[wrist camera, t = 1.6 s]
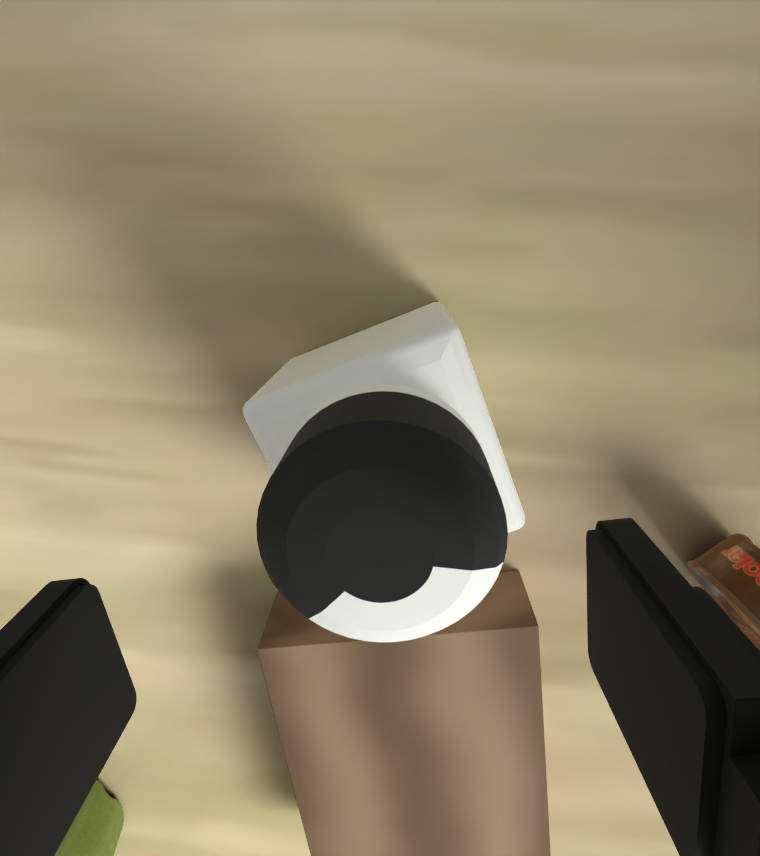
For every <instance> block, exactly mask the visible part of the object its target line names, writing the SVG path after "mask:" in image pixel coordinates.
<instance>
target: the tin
mask: <svg viewBox="0 0 760 856" xmlns="http://www.w3.org/2000/svg"><path fill="white" fill-rule="evenodd" d="M687 566H688V568H689V570H690V571H691V573H692V574H693V575H694V577H695V578H696V579H697V580H698V581H699V583H700V584H701V585H702V586H703V588H704V589H705V590H706V592H707V593H708V594H709V595H710V596H711V597H712V598H713V600H714V601H715V602H716V603H717V604H718V605H719V606H720V607H721V608H722V610H723V611H724V612H725V613H726V614H727V615H728V616H729V617H730V618H731V620H732V621H733V622H734V623H735V624H736V625H737V626H738V627H739V628H740V630H741V631H742V632H743V633H744V634H745V635H746V636H747V637H748V638H749V640H750V641H751V642H752V643H753V644H754V645H755V646H756V647H757V648H758V650H759V651H760V548H758V547H757V546H755V545H754V544H753V543H752V542H751V540H750V539H749V538H748V537H747V536H745V535H742V534H734V535H732V536H730V537H728V538H726V539H724V540H723V541H721V542H720V543H718V544H717V545H715V546H714V547H712V548H711V549H710V550H708V551H707V552H705V553H704V554H702V555H701V556H699V557H698V558H697V559H695V560H690V561H688V562H687Z"/></svg>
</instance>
